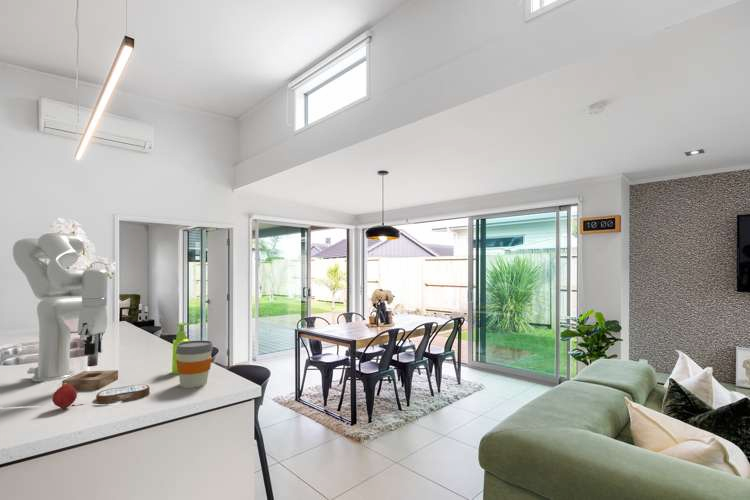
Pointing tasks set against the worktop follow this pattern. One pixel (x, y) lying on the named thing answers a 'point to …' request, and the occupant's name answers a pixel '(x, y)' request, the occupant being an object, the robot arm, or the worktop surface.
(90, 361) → the metal rod
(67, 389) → the onion
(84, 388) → the rod stand
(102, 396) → the tin
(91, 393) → the worktop surface
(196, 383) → the reusable coffee cup
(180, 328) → the soap dispenser
